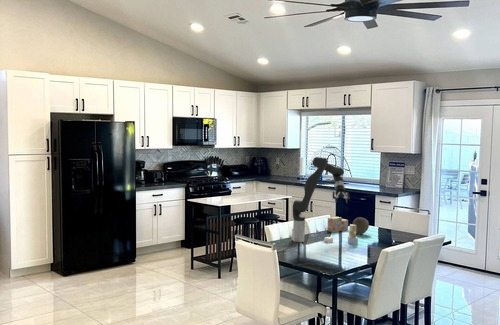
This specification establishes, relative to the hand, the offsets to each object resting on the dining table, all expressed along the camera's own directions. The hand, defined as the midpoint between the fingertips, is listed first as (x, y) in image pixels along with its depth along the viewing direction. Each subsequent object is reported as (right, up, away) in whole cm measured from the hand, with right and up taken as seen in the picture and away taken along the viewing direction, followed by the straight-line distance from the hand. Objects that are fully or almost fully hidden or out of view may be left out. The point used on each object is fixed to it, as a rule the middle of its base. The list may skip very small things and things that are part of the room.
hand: (341, 202), depth 401 cm
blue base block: (+6, -32, -15) cm, 36 cm away
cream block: (-13, -31, -13) cm, 36 cm away
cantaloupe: (+20, -30, +21) cm, 42 cm away
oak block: (+6, -27, -15) cm, 31 cm away
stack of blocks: (+3, -29, +36) cm, 47 cm away
